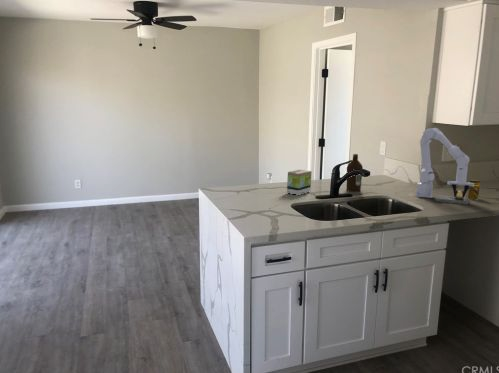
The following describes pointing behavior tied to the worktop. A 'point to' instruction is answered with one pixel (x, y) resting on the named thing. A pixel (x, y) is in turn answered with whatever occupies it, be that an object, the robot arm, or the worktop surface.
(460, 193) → the bushing
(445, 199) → the jig
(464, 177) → the robot arm
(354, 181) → the olive oil
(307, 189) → the tea box
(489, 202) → the worktop surface
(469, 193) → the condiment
